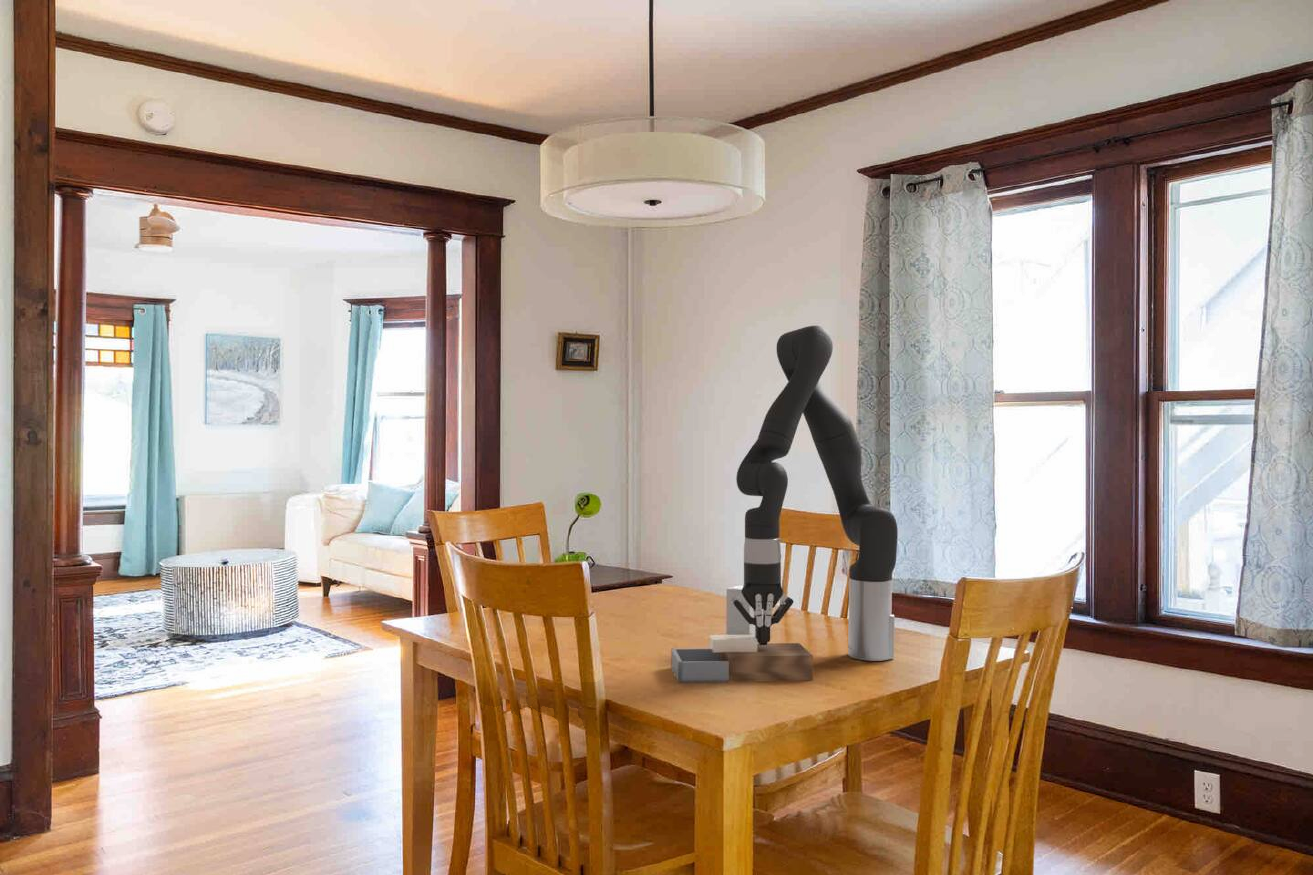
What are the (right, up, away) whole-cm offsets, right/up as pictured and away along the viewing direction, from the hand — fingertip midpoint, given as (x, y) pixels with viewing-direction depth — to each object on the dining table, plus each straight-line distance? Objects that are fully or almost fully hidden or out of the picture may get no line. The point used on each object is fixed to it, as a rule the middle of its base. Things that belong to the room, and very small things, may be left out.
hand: (762, 644), depth 195 cm
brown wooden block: (0, -6, 0) cm, 6 cm away
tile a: (-4, -1, 0) cm, 4 cm away
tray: (-13, -6, -1) cm, 14 cm away
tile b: (-8, -1, -1) cm, 8 cm away
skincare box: (-2, -6, +18) cm, 19 cm away
